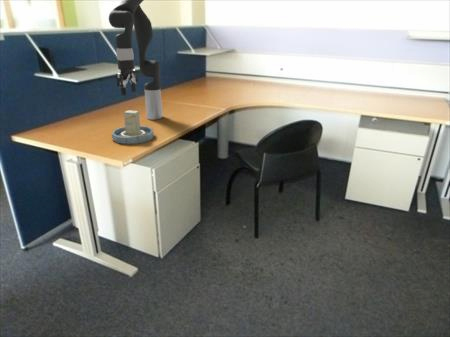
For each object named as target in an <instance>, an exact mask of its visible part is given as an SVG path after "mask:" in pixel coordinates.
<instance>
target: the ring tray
mask: <svg viewBox="0 0 450 337" xmlns="http://www.w3.org/2000/svg"><path fill="white" fill-rule="evenodd" d="M154 135H155V134H154V129H153V128H152V127H150V126H148V125H147V126H146V125H140V135H137V136H126V130H125V126H122V127H116V129H113V130H112V131H111V138H112V141H113V142H115V143H117V144H121V145H139V144H144V143H148V142H149V141H151V140H153V139H154Z"/></svg>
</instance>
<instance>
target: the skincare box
mask: <svg viewBox="0 0 450 337" xmlns="http://www.w3.org/2000/svg"><path fill="white" fill-rule="evenodd" d="M123 117H124V127H125V130H126V136H137V135H140V126H141V124H140V123H141V121H140V111H139V110H132V109H131V110H130V109H129V110H126V111H124V112H123Z"/></svg>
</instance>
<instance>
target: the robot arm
mask: <svg viewBox="0 0 450 337" xmlns="http://www.w3.org/2000/svg"><path fill="white" fill-rule="evenodd" d="M143 1H144V0H122V1H120V4H119V5H117V6H116V7H114V8H113V9H112V10H111V11H110V12H109V15H108V22H109V24H110V26H111V27H113V28H114V29H124V31H123V32H122V33H119V34H115V37H114V38H115V47H116V61H117V69H118V70H120V73H119V72H116V73H115V76H116V87H119V88H120V93H121V96H124V97H126V96H127V88H126V86H127V84H128V82H130V88H131V92H132V93H136V92H137V85H136V84H137V83H139V76H138V69H136V67H135V59H134V58H135V55H134V51H133V40H132V39H133V31H134V35H135V39H136V46H137V52H138V54H137V56H138V65H139V67H138V68H139V72H140V74H141V75H140V76H142V77H144V78H153V79H152V80H151V81H149V82H146V83H145V84H143V87H144V88H143V89H144V90H143V91H144V101H145V113H146V119H147V120H160V119H161V120H162V118H163V116H164V115H163V104H162V103H163V102H162V94H161V93H162V92H161V65H160V62H159V60H154V59H153V60H152V59H151V60H149V59H147V57H146V56H147V55H146V54H147V52H148V49H149V46H150V44H151V43H152V40H153V37H154V35H153V26H152V22H151V20H150V18H149V17H148V16H147V14H146V13H145V11H144V10H143V9H142V8H141V3H143Z"/></svg>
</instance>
